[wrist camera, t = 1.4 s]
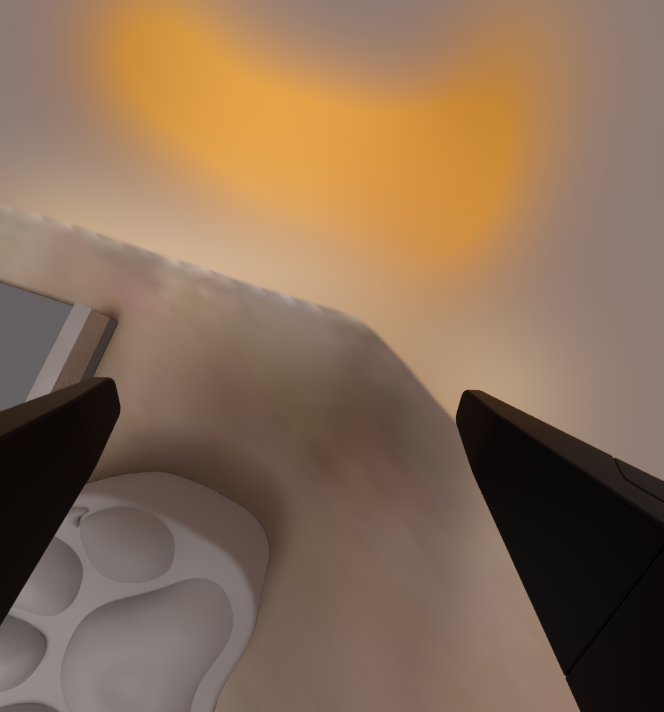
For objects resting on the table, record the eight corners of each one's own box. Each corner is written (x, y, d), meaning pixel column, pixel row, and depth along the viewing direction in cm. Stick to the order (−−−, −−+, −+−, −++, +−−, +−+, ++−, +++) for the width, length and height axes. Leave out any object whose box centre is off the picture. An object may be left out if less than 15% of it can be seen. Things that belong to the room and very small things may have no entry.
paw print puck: (207, 705, 20) (140, 914, 11) (-6, 612, 20) (-233, 752, 11) (286, 522, 22) (280, 582, 14) (96, 437, 22) (-30, 444, 13)
